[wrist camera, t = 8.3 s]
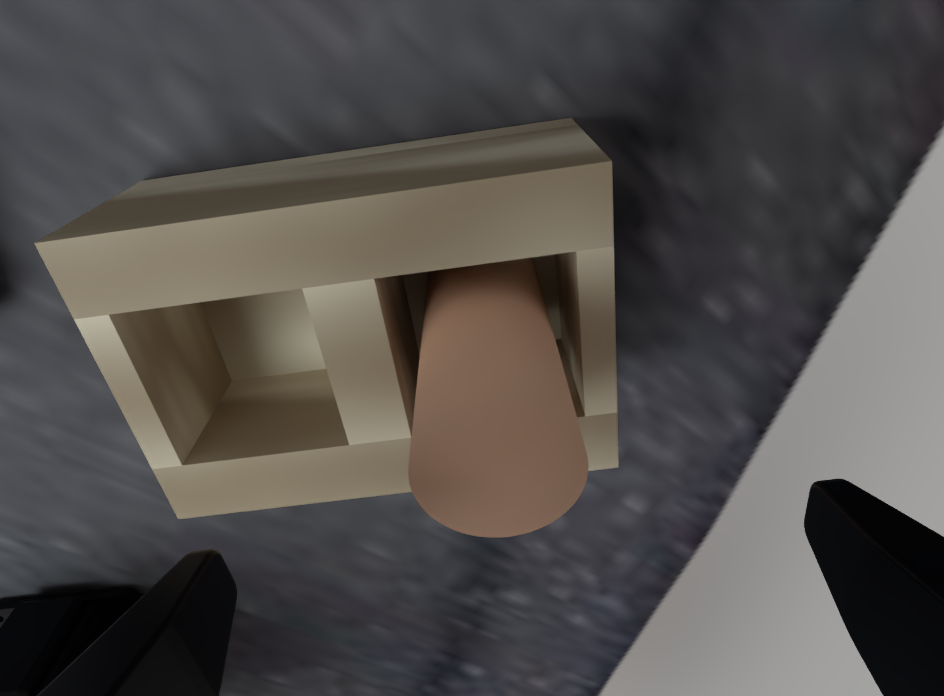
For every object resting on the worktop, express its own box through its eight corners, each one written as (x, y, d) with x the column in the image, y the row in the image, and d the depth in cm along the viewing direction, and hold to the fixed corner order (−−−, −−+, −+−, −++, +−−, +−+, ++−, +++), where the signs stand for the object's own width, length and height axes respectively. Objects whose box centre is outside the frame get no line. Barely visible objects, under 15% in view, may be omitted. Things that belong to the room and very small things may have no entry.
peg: (542, 324, 18) (592, 527, 12) (438, 339, 19) (426, 546, 12) (532, 224, 17) (583, 389, 10) (417, 241, 17) (390, 414, 10)
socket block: (584, 367, 20) (618, 467, 16) (235, 411, 21) (178, 519, 17) (571, 117, 16) (611, 160, 12) (142, 180, 17) (34, 243, 13)
